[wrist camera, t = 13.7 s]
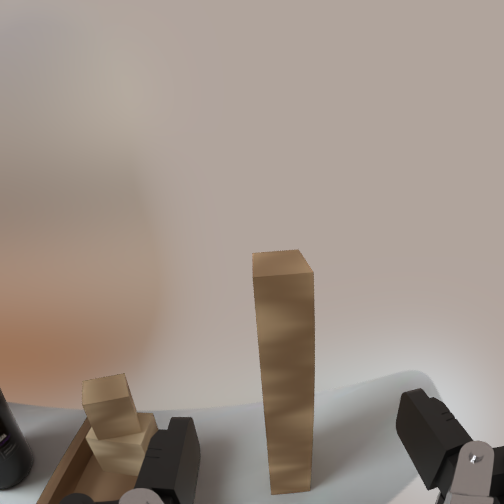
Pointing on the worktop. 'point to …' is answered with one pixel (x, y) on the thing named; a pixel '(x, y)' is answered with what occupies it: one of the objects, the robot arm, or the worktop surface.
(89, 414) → the small pine offcut
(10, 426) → the supplement bottle
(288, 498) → the worktop surface
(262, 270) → the oak board
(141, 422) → the pine offcut
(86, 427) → the walnut rack
